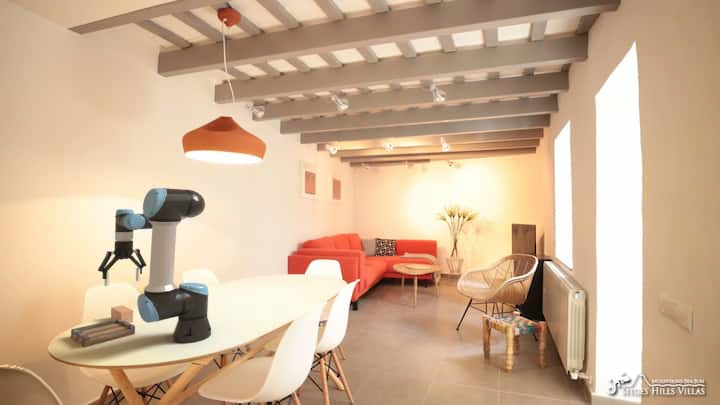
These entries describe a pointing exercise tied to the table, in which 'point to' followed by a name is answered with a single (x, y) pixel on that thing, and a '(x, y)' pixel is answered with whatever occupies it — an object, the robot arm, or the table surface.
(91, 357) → the table surface
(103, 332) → the wooden tray
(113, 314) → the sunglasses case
